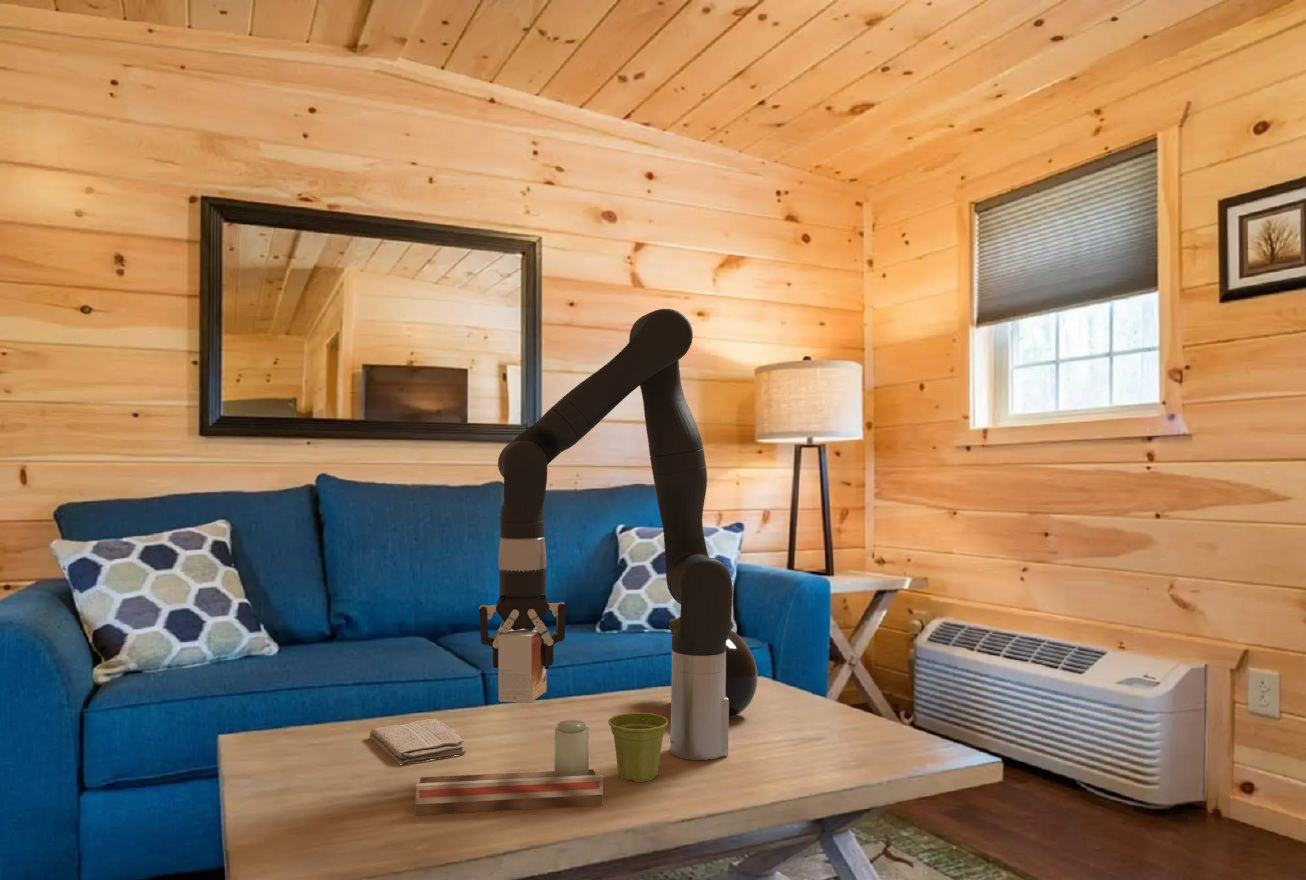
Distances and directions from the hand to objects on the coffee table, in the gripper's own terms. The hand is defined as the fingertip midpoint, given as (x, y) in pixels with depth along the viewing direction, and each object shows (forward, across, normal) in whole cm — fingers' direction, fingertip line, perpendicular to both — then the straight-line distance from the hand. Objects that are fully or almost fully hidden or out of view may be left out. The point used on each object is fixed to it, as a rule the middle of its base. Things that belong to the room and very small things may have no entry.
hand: (522, 669), depth 148 cm
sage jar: (+14, -6, +13) cm, 20 cm away
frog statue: (+17, -37, -31) cm, 51 cm away
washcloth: (+16, +17, -14) cm, 28 cm away
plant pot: (+16, -18, +6) cm, 25 cm away
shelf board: (+16, +2, +12) cm, 20 cm away
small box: (+5, 0, 0) cm, 5 cm away
